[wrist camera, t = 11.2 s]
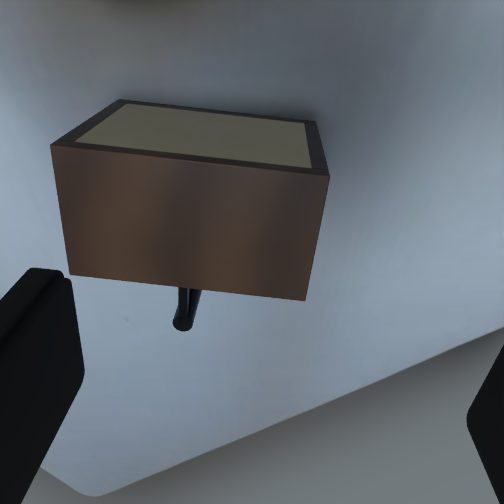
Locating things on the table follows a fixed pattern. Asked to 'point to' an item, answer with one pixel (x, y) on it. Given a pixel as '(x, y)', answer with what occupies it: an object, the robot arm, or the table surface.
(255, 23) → the table surface
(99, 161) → the cabinet
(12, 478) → the robot arm
